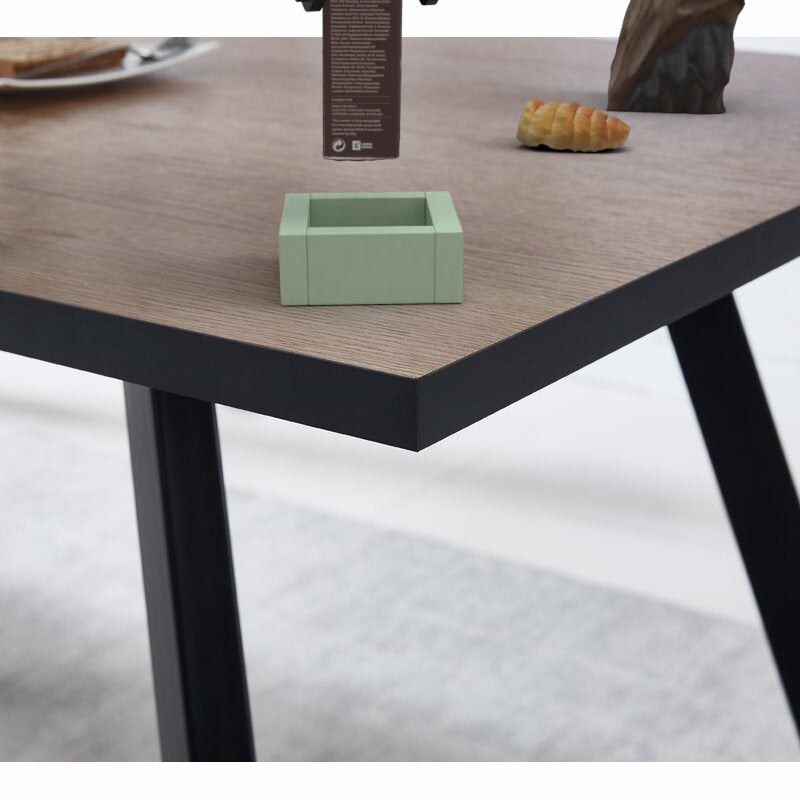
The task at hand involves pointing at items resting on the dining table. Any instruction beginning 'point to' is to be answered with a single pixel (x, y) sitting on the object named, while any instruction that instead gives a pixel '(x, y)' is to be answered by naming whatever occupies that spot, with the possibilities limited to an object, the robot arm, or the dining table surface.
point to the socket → (370, 248)
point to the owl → (674, 56)
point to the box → (361, 79)
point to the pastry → (570, 127)
